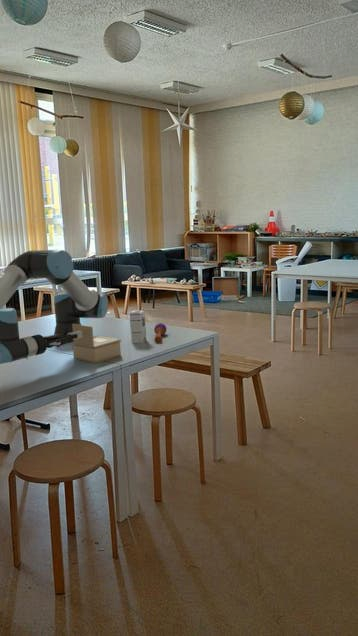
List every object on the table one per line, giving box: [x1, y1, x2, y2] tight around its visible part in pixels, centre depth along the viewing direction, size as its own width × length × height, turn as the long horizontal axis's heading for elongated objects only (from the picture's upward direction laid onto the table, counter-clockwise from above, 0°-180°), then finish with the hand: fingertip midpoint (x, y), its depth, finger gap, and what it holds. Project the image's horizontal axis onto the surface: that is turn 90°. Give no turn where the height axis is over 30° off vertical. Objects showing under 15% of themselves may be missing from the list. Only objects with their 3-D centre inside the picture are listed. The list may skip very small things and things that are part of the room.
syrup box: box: [128, 309, 147, 344], centre depth 266 cm, size 6×6×14 cm
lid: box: [71, 324, 122, 349], centre depth 240 cm, size 15×15×9 cm
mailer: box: [72, 341, 122, 364], centre depth 241 cm, size 14×14×6 cm
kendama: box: [153, 323, 167, 344], centre depth 273 cm, size 6×6×20 cm
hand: (81, 333), depth 233 cm, fingers closed
